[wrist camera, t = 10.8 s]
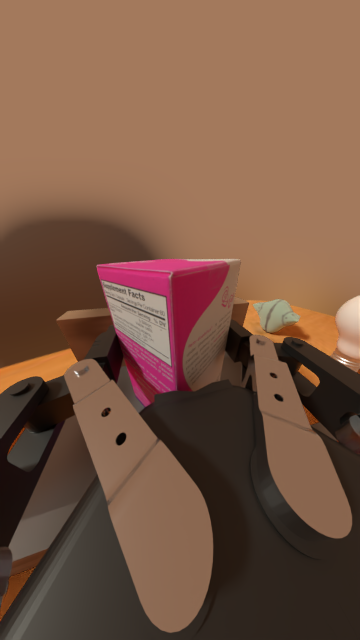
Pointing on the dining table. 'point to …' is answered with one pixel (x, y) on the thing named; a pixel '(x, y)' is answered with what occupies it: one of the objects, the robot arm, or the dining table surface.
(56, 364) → the dining table surface
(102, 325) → the cleat board
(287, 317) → the pale green triangular piece
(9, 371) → the dining table surface
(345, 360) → the lightbulb
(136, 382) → the supplement box
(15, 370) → the dining table surface
